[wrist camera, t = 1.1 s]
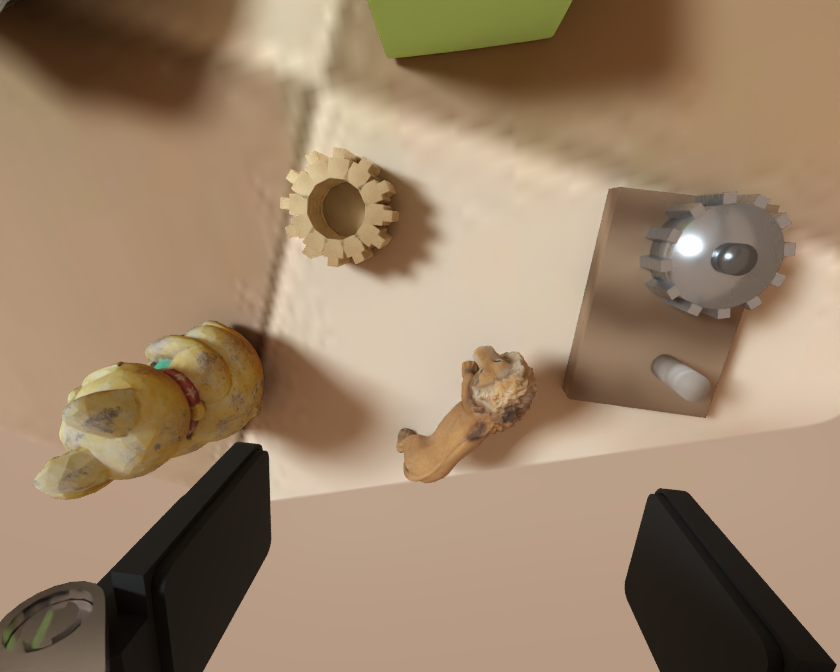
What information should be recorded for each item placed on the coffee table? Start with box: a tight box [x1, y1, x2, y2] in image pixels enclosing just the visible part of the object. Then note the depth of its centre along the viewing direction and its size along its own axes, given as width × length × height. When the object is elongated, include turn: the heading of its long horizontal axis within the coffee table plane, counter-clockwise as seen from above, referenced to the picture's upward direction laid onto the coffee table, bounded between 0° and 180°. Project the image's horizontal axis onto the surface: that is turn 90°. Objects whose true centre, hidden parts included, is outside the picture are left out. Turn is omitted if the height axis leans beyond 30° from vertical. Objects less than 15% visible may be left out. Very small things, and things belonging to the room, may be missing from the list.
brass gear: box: [280, 148, 399, 267], centre depth 29 cm, size 7×7×4 cm
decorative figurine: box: [33, 321, 264, 500], centre depth 27 cm, size 10×8×15 cm
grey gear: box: [640, 192, 796, 319], centre depth 25 cm, size 7×7×4 cm
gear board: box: [562, 187, 780, 418], centre depth 28 cm, size 15×10×6 cm, turn 173°
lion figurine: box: [397, 346, 537, 483], centre depth 30 cm, size 15×5×9 cm, turn 148°
